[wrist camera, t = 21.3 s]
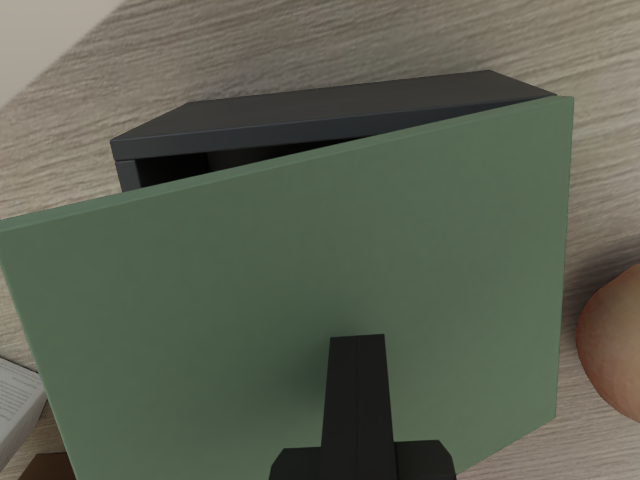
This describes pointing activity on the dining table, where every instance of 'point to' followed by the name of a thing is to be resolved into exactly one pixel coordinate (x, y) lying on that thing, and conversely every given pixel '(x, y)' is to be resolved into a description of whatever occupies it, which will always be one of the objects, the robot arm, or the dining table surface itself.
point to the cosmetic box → (18, 407)
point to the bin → (299, 123)
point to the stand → (49, 468)
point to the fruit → (613, 342)
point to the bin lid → (304, 297)
